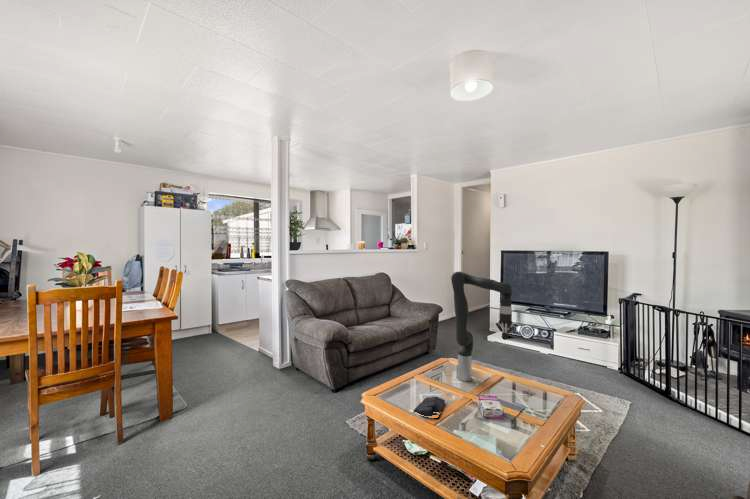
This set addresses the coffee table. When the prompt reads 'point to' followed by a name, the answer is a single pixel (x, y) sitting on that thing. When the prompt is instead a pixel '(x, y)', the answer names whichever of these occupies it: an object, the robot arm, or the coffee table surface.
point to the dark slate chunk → (430, 406)
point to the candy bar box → (490, 406)
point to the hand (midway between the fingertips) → (505, 338)
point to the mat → (512, 406)
